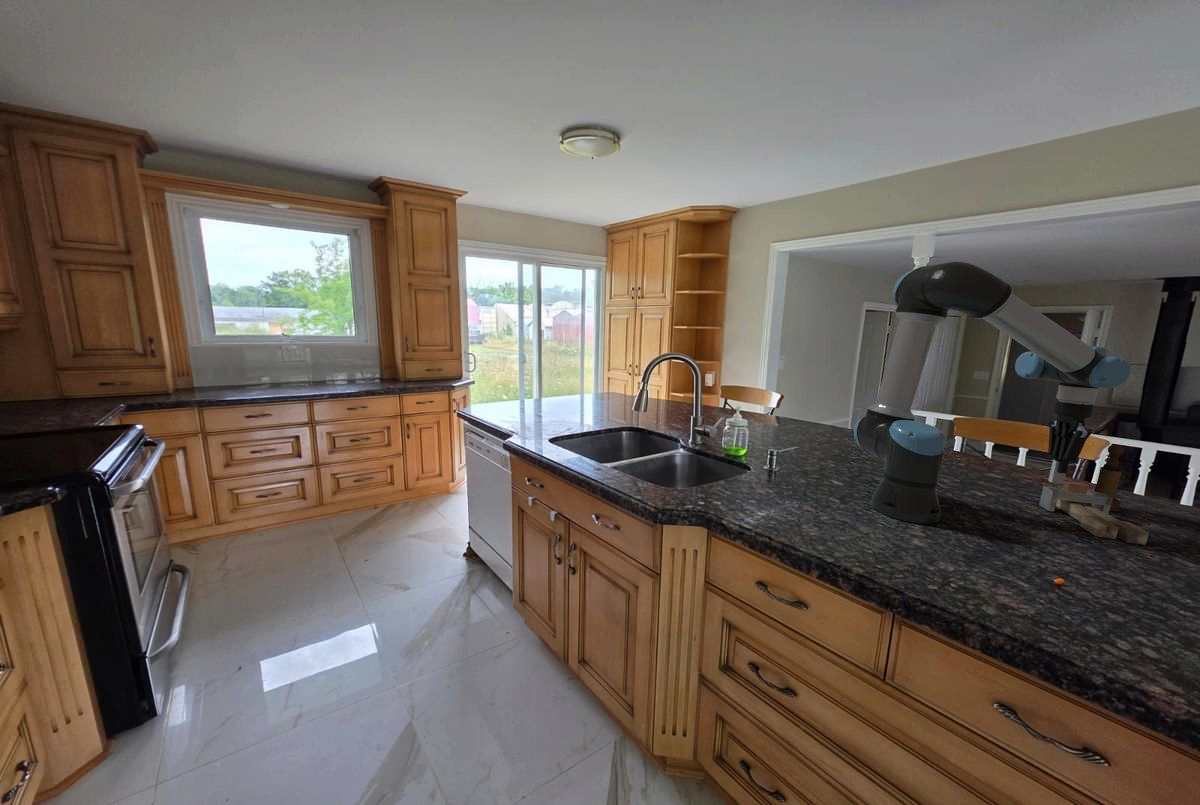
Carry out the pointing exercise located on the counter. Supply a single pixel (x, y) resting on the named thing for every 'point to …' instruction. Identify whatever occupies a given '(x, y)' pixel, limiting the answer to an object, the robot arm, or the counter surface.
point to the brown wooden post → (1110, 476)
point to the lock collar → (1074, 496)
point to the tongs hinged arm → (1089, 519)
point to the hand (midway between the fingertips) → (1055, 482)
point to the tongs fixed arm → (1122, 527)
